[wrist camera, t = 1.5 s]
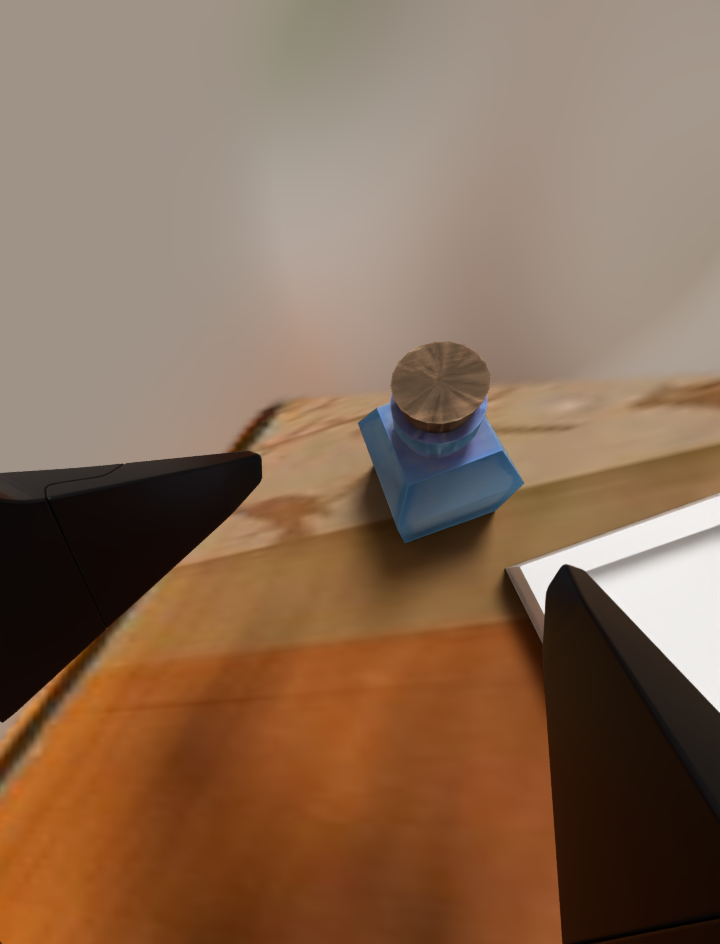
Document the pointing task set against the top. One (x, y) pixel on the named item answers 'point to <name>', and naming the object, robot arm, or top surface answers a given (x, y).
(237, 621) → the top surface
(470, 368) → the perfume bottle
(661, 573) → the tray
